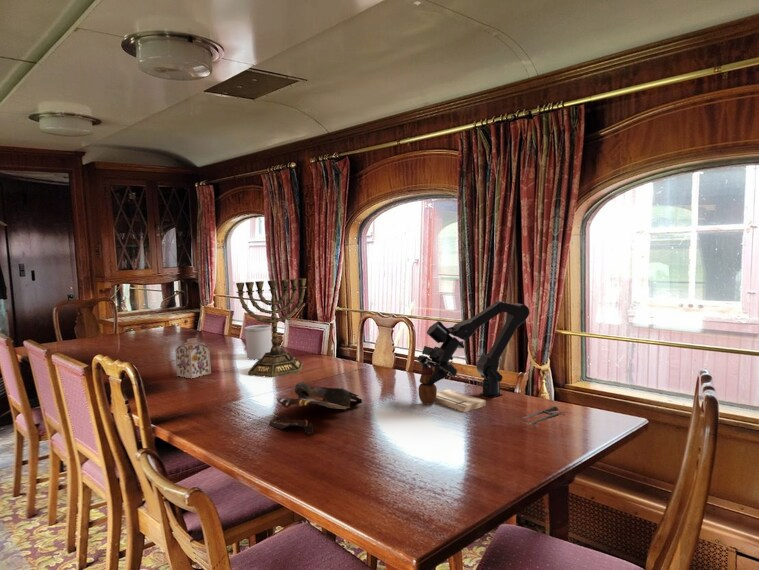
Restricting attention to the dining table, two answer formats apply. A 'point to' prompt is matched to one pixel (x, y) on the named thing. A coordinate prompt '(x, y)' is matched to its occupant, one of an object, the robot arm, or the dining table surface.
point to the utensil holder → (258, 340)
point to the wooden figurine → (427, 387)
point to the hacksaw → (543, 417)
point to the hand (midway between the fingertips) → (424, 383)
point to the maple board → (459, 400)
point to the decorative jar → (193, 359)
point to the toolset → (307, 397)
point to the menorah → (275, 359)
